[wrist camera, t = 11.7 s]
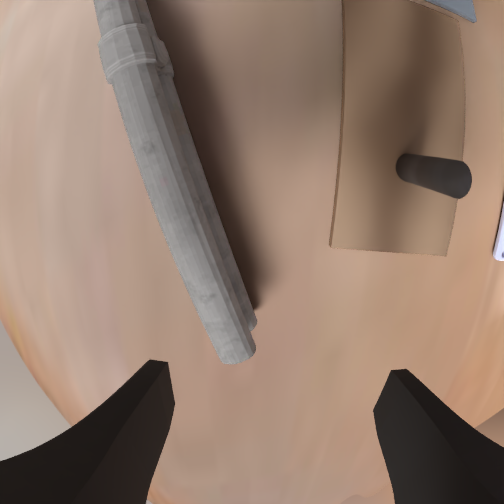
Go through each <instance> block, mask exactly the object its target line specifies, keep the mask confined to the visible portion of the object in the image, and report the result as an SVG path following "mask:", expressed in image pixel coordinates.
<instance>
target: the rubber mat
mask: <svg viewBox="0 0 504 504" xmlns="http://www.w3.org/2000/svg"><path fill="white" fill-rule="evenodd" d="M425 1H428V2H430V3H433V4H435V5H438V6H440V7H442V8H445V9H447V10H449V11H451V12H453V13H455V14H457V15H460V16H462V17H464V18H466V19H468V20H469V21H471V22H473V23H474V22H476V21H477V20H476V15H475V10H474V6H473V1H472V0H425Z"/></svg>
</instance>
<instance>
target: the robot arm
mask: <svg viewBox="0 0 504 504" xmlns="http://www.w3.org/2000/svg"><path fill="white" fill-rule="evenodd" d="M502 253H503V254H502ZM493 257H494V258H495V259H496V260H500V261H504V203H503V209H502V215H501V220H500V225H499V230H498V235H497V239H496V243H495V247H494V251H493ZM174 406H175V401H174V395H173V390H172V384H171V378H170V372H169V366H168V362H163V361H157V360H149V361H147V362H146V363H145V364H144V365H143V366H142V367H141V368H140V369H139V370H138V371H137V372H136V373H135V374H134V375H133V376H132V377H131V378H130V379H129V380H128V381H127V382H126V383H125V384H124V385H123V386H121V387H120V388H119V389H118V390H117V391H116V392H115V393H114V394H113V395H111V396H110V397H109V398H108V399H107V400H106V401H105V402H104V403H102V404H101V405H100V406H99V407H97V408H96V409H95V410H94V411H92V412H91V413H90V414H89V415H87V416H86V417H85V418H84V419H82V420H81V421H79V422H78V423H77V424H75V425H74V426H72V427H71V428H69V429H68V430H66V431H65V432H63V433H62V434H60V435H58V436H57V437H55V438H53V439H52V440H50V441H48V442H46V443H44V444H42V445H40V446H38V447H36V448H34V449H32V450H29V451H27V452H24V453H22V454H20V455H17V456H14V457H12V458H9V459H6V460H3V461H0V504H146V500H147V495H148V491H149V487H150V484H151V480H152V477H153V475H154V472H155V469H156V466H157V463H158V461H159V458H160V455H161V452H162V449H163V447H164V444H165V441H166V438H167V435H168V432H169V429H170V425H171V420H172V416H173V411H174ZM373 412H374V418H375V425H376V430H377V436H378V439H379V443H380V446H381V449H382V453H383V456H384V459H385V463H386V466H387V470H388V473H389V477H390V480H391V484H392V488H393V493H394V499H395V504H504V447H502V446H500V445H498V444H497V443H495V442H493V441H492V440H490V439H489V438H487V437H486V436H484V435H483V434H481V433H480V432H478V431H477V430H475V429H474V428H473V427H472V426H470V425H469V424H468V423H467V422H465V421H464V420H463V419H462V418H460V417H459V416H458V415H457V414H456V413H455V412H453V411H452V410H451V409H450V408H449V407H448V406H447V405H445V404H444V403H443V402H442V401H441V400H440V399H439V398H438V397H437V396H436V395H435V394H434V393H432V392H431V391H430V390H429V389H428V388H427V387H426V386H425V385H424V384H423V383H422V382H421V381H420V380H419V379H417V378H416V377H415V376H414V375H413V374H412V373H411V372H409V371H408V370H407V369H401V370H391V372H390V374H389V376H388V379H387V381H386V383H385V386H384V388H383V390H382V392H381V395H380V397H379V399H378V401H377V403H376V405H375V407H374V409H373Z"/></svg>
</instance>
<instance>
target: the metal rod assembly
mask: <svg viewBox="0 0 504 504" xmlns="http://www.w3.org/2000/svg"><path fill="white" fill-rule="evenodd" d="M94 5H95V10H96V15H97V20H98V24H99V29H100V33H101V39H100V41H99V43H98V47H99V53H100V58H101V62H102V66H103V70H104V73H105V76H106V80H107V82H108V84H112V85H113V88H114V92H115V95H116V99H117V102H118V106H119V109H120V112H121V116H122V119H123V122H124V125H125V128H126V132H127V135H128V138H129V141H130V144H131V147H132V150H133V153H134V156H135V159H136V162H137V165H138V167H139V170H140V173H141V176H142V179H143V181H144V184H145V187H146V190H147V192H148V195H149V198H150V201H151V203H152V206H153V208H154V211H155V214H156V216H157V219H158V221H159V224H160V226H161V229H162V231H163V234H164V236H165V239H166V241H167V244H168V246H169V249H170V251H171V254H172V256H173V258H174V261H175V263H176V265H177V268H178V270H179V272H180V275H181V277H182V279H183V282H184V284H185V286H186V288H187V291H188V293H189V295H190V297H191V299H192V302H193V304H194V306H195V308H196V310H197V313H198V315H199V317H200V319H201V321H202V323H203V325H204V327H205V330H206V332H207V334H208V336H209V338H210V340H211V342H212V344H213V346H214V348H215V350H216V352H217V354H218V356H219V358H220V360H221V362H223V363H224V364H237V363H240V362H243V361H245V360H247V359H249V358H250V357H252V356H253V355H254V353H255V351H256V345H255V343H254V340H253V338H252V335H251V333H250V331H251V330H253V329H254V328H255V326H256V324H257V319H256V316H255V313H254V311H253V308H252V305H251V302H250V300H249V297H248V294H247V292H246V289H245V286H244V283H243V281H242V278H241V275H240V273H239V270H238V267H237V264H236V262H235V259H234V256H233V253H232V250H231V248H230V245H229V242H228V239H227V237H226V234H225V231H224V228H223V225H222V223H221V220H220V217H219V214H218V211H217V208H216V206H215V203H214V200H213V197H212V194H211V191H210V189H209V186H208V183H207V180H206V177H205V174H204V171H203V168H202V165H201V163H200V160H199V157H198V154H197V151H196V148H195V145H194V142H193V139H192V136H191V133H190V130H189V127H188V124H187V121H186V118H185V115H184V112H183V109H182V106H181V103H180V100H179V97H178V94H177V91H176V88H175V85H174V82H173V79H172V78H173V77H174V71H173V66H172V63H171V60H170V57H169V54H168V51H167V49H166V47H165V44H164V42H163V41H161V40H159V38H158V37H157V34H156V31H155V27H154V24H153V21H152V18H151V15H150V12H149V9H148V5H147V2H146V0H94Z"/></svg>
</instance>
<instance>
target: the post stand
mask: <svg viewBox="0 0 504 504" xmlns="http://www.w3.org/2000/svg"><path fill="white" fill-rule="evenodd" d="M342 17H343V83H342V110H341V129H340V144H339V157H338V169H337V180H336V190H335V200H334V209H333V217H332V225H331V233H330V241H329V245H330V247H331V248H337V249H351V250H366V251H380V252H394V253H408V254H421V255H434V256H446V255H447V251H448V247H449V243H450V238H451V233H452V229H453V224H454V218H455V213H456V207H457V201H458V199H460V198H463V197H464V196H465V195H466V194H467V193H468V192H469V190H470V187H471V183H472V176H471V172H470V169H469V167H468V166H467V165H466V164H465V163H464V162H462V161H463V149H464V132H465V79H464V63H463V52H462V43H461V35H460V28H459V21H458V20H456V19H453V18H451V17H449V16H447V15H445V14H442V13H440V12H438V11H435V10H433V9H430V8H428V7H425V6H423V5H420V4H417V3H415V2H412V1H409V0H342Z"/></svg>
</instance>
